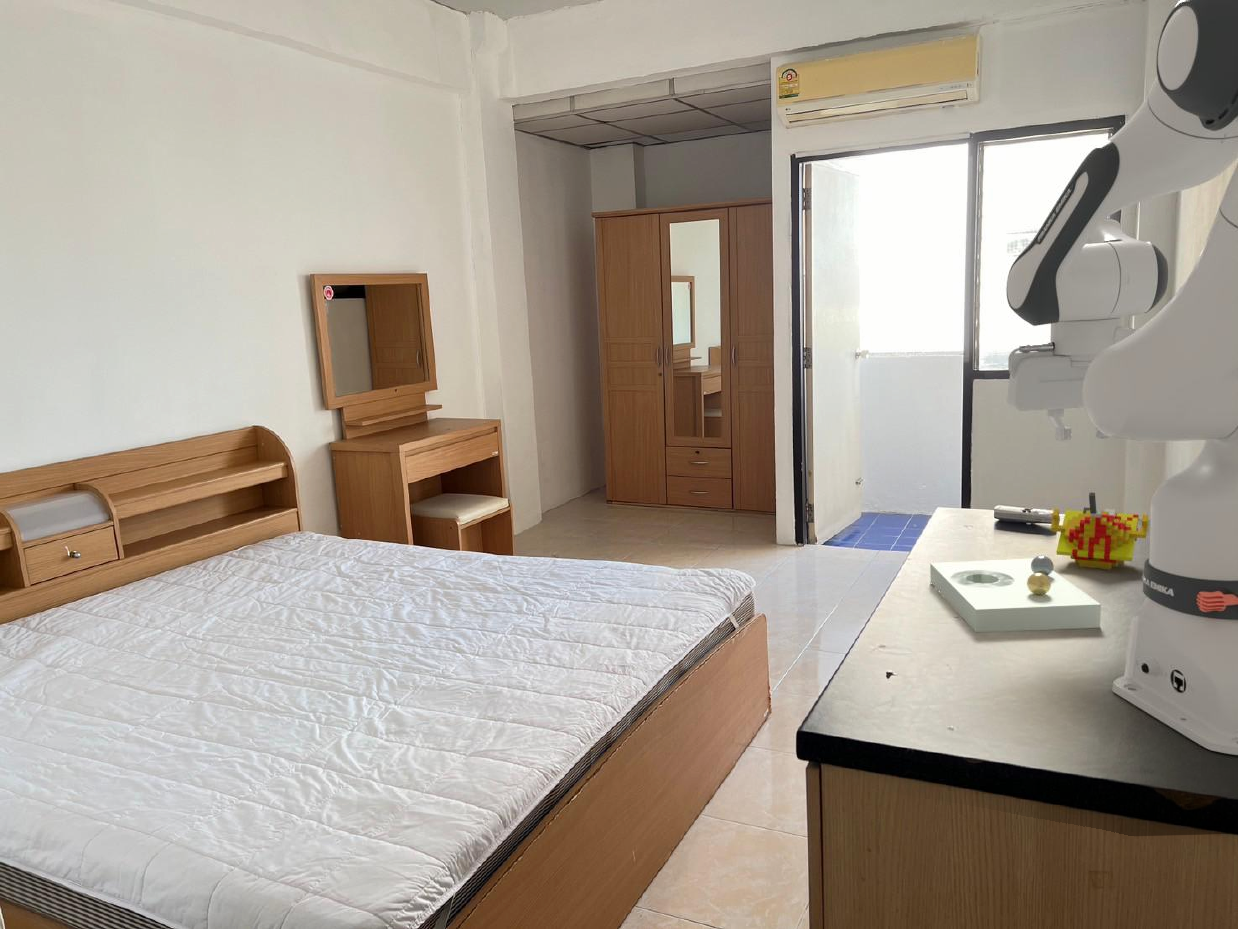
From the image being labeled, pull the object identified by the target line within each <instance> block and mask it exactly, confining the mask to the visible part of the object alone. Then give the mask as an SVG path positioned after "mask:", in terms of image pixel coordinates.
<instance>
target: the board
mask: <svg viewBox="0 0 1238 929" xmlns="http://www.w3.org/2000/svg"><path fill="white" fill-rule="evenodd" d="M1034 558H1035V557H1032V558H1031V557H1030V558H1016V559H1015V558H1014V559H1009V558H1008V559H993V560H990V559H989V560H974V561H973V560H971V561H966V560H965V561H946V562H930V572H929V573H930V576H929V577H930V584H931V583H932V584H933V585H934V586H935V587H936V588H937V589H936V588H935V587H934V586H933V585H932V584H931V585H932V586H933V587H934V588H935V589H936V590H937V592H939V591H940V593H941V594H942V595H943V596H944V597H945V598H944V597H943V596H942V595H941V594H940V593H939V594H940V595H941V596H942V597H943V598H944V599H945V601H946V602H947V603H948V604H949V603H950V604H951V605H952V606H951V605H950V606H951V607H952V608H953V607H954V608H953V609H954V610H955V611H956V612H957V613H958V615H959V616H960V617H961V618H962V619H963V620H964V621H965V623H967V624H968V625H969V627H970V628H971V627H972V628H971V629H972V630H973V631H974V632H975V633H976V634H977V633H995V632H997V633H998V632H1017V631H1018V632H1021V631H1023V632H1024V631H1025V632H1026V631H1047V630H1071V629H1092V628H1093V629H1094V628H1095V629H1096V628H1097V629H1098V628H1101V611H1102V609H1101V607H1102V605H1101V604H1102V603H1100V602H1098V601H1097V600H1095V599H1093V598H1092V597H1091V596H1090V595H1088V594H1087V593H1086V592H1085V591H1083V590H1081V589H1080V588H1079V587H1077V586H1075V584H1073V583H1071V582H1070V581H1068V580H1067V579H1066V578H1064V577H1063V576H1061V575H1060V574H1058V573H1057V572H1056V571H1054V570H1053V571H1052V572H1051V574H1049V575H1048V576H1047V577H1048V578H1049V579H1050V581H1051V588H1050V590H1049V591H1048V592H1047V593H1046V594H1043V595H1036V594H1034V593H1032V592H1031V591H1030V590H1029V589H1028V587H1027V580H1028V578H1029V577H1030V576H1031V575H1032V574H1034V573H1033V571H1032V569H1031V562H1032V560H1033V559H1034Z"/></svg>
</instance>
